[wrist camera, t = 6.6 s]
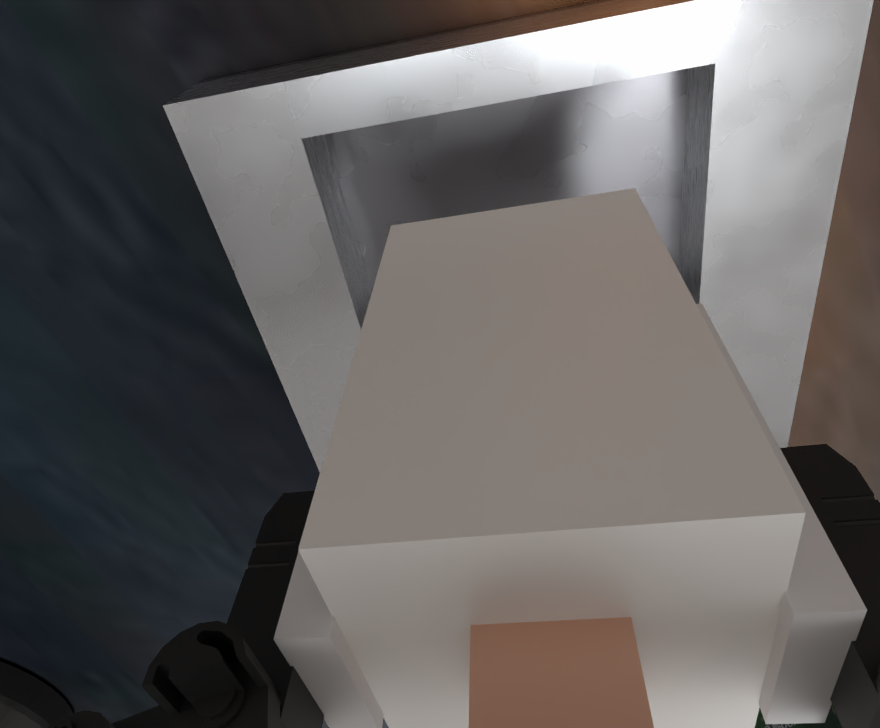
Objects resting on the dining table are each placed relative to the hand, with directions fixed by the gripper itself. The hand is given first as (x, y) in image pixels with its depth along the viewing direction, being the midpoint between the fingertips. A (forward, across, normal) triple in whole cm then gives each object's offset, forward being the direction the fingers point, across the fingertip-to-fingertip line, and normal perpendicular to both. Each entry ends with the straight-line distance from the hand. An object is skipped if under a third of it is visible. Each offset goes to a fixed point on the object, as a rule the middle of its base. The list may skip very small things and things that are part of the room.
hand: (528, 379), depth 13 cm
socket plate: (+10, 0, -6) cm, 11 cm away
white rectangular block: (+3, 0, 0) cm, 3 cm away
